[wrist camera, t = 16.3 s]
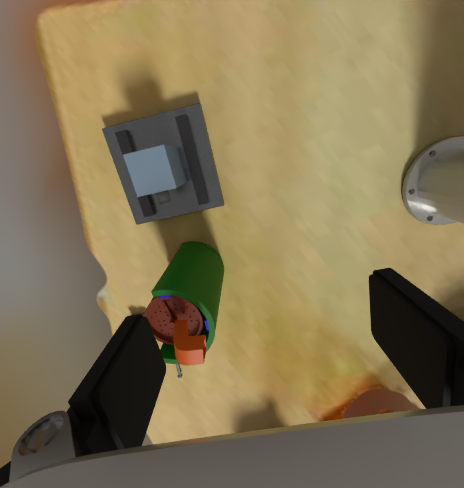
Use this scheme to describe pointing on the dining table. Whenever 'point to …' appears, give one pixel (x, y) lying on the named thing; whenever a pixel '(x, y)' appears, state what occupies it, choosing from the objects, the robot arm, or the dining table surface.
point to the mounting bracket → (192, 156)
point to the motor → (187, 304)
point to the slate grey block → (156, 171)
